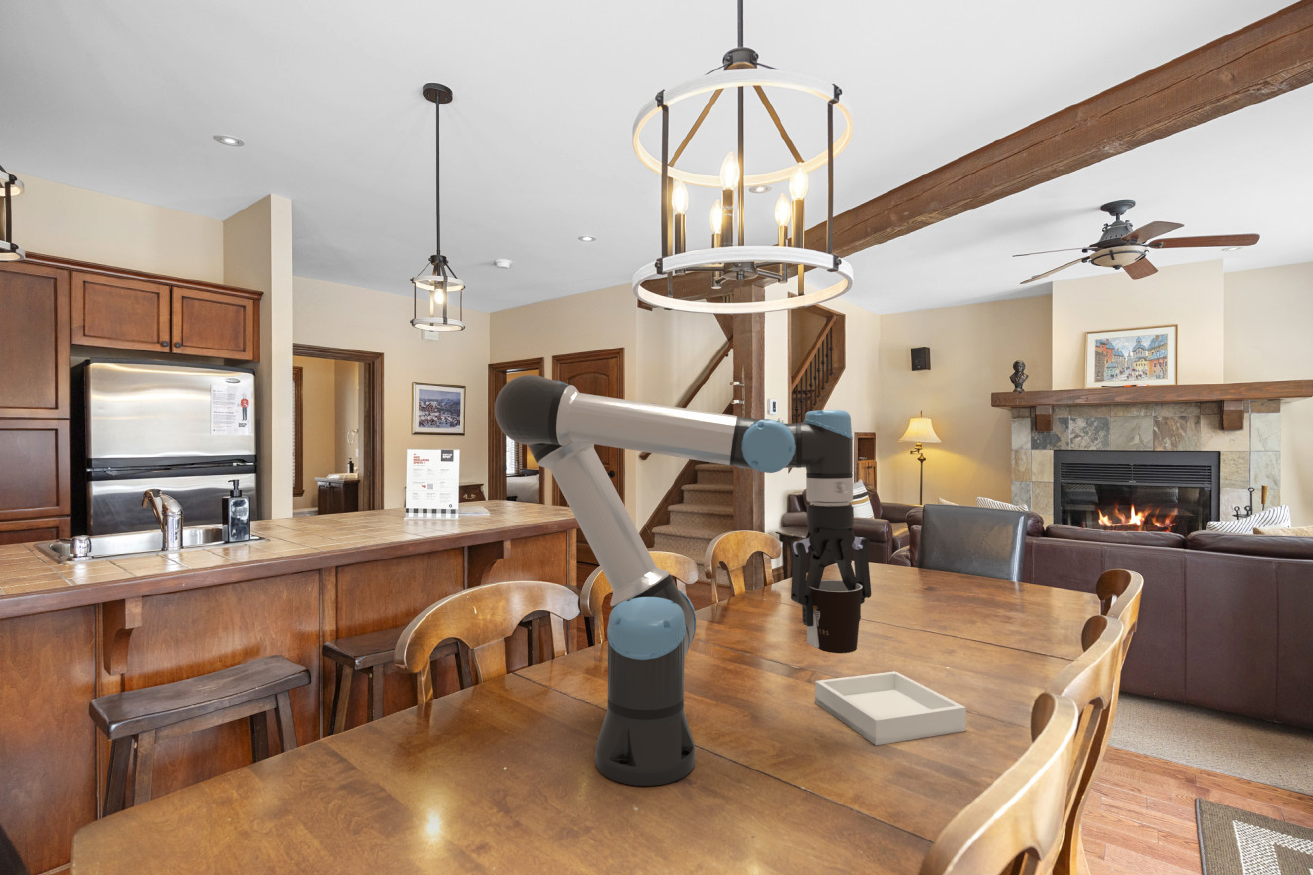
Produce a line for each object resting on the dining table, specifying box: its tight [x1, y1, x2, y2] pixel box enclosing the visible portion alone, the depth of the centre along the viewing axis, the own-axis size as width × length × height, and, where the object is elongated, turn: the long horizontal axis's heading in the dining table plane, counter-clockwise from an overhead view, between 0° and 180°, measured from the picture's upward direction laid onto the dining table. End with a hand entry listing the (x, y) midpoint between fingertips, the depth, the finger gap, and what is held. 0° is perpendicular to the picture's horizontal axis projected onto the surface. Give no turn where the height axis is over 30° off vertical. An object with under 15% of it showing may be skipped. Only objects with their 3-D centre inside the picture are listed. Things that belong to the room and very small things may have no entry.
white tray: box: [814, 670, 967, 746], centre depth 115 cm, size 18×18×4 cm
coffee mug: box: [809, 579, 863, 654], centre depth 107 cm, size 12×9×10 cm
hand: (832, 642), depth 107 cm, fingers closed on coffee mug, 6 cm apart
